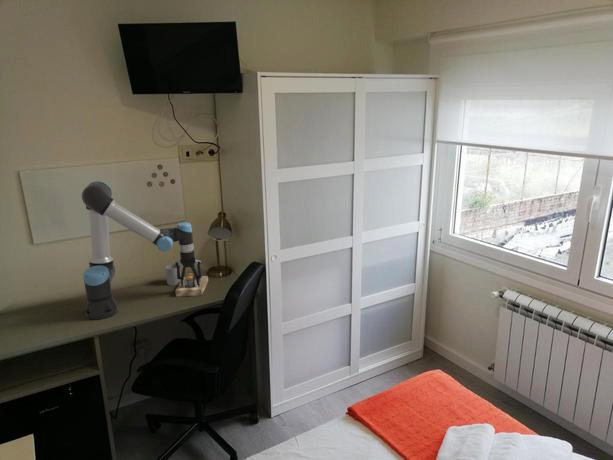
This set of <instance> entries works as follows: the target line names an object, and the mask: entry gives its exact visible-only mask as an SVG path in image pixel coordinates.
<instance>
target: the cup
mask: <svg viewBox="0 0 613 460" xmlns="http://www.w3.org/2000/svg"><path fill="white" fill-rule="evenodd" d="M164 268H165V270H164V271H165V277H166V284H167V285H169V286H176V285H179V284H180V282H181V280H180V279H177V266H176V264H175V263H172V264H171V263H170V264H168V265H166V266H165V267H164ZM181 275H182V271H181V270H180V276H181Z"/></svg>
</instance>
